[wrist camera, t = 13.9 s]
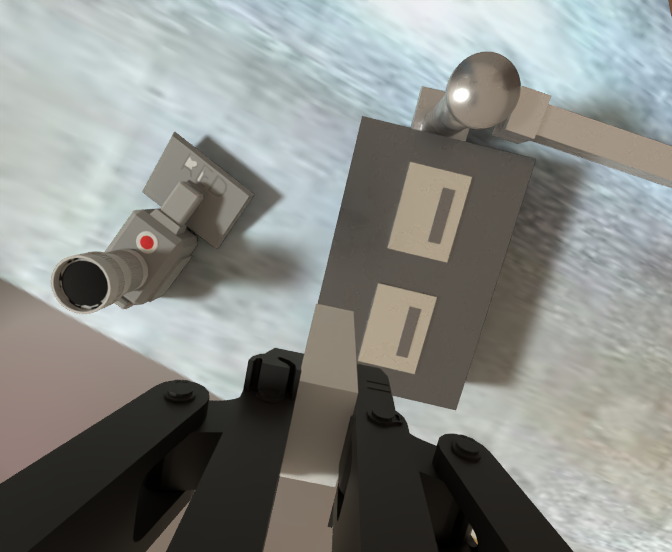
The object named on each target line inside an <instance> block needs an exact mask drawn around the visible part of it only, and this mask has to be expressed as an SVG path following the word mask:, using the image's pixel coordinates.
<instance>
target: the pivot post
mask: <svg viewBox="0 0 672 552" xmlns="http://www.w3.org/2000/svg"><path fill="white" fill-rule="evenodd" d="M520 91H521V83H520V78H519V74H518V72H517V70H516V68H515V66H514V65H513V64H512V62H511V61H509V60H508V59H507V58H506V57H504V56H502V55H500V54H498V53H494V52H480V53H476V54H474V55H471V56H469V57H468V58H466V59H465V60H463V61H462V62H461V63H460V64H459V65H458V67H457V68H456V69H455V70H454V71H453V73H452V74H451V76H450V78H449V80H448V83H447V87H446V92H443V91H439V90H435V89H431V88H427V87H423V86H422V88H421V90H420V94H419V98H418V102H417V106H416V110H415V114H414V117H413V121H412V125H411V128H413V129H417V130H421V131H425V132H429V133H433V134H437V135H441V136H445V137H449V138H453V139H457V140H461V141H465V142H466V139H467V135H468V132H469V128H470V129H475V130H481V129H487V128H490V127H493V126H495V125H497V124H499V123H501V122H502V121H504V120H505V119H506V118H507V117H508V116H509V115H510V114H511V113H512V112H513V110H514V109H515V107H516V105H517V103H518V100H519V97H520Z"/></svg>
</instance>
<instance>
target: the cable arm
mask: <svg viewBox="0 0 672 552" xmlns="http://www.w3.org/2000/svg"><path fill="white" fill-rule="evenodd" d="M550 98H551V96H550V95H547V94H545V93H542V92H539V91H536V90H533V89H530V88H527V87H524V86H521V91H520V97H519V100H518V103H517V105H516V107H515V109H514V110H513V112H512V113H511V114H510V115H509V116H508V117H507V118H506V119H505V120H504V121H502V122H501V123H499V124H497V125H495V127H494V130H493V133H492V135H493V136H496V137H499V138H502V139H505V140H508V141H511V142H514V143H517V144H519V143H522V142H526V141H529V140H531V141H534V142H536V143H539V144H542V145H545V146H548V147H551V148H554V149H557V150H560V151H563V152H566V153H569V154H572V155H575V156H578V157H581V158H584V159H587V160H590V161H593V162H596V163H599V164H602V165H605V166H607V167H610V168H613V169H616V170H619V171H622V172H625V173H628V174H631V175H634V176H637V177H640V178H643V179H646V180H649V181H652V182H655V183H658V184H661V185H664V186H667V187H670V188H672V146H669V145H666V144H664V143H661V142H658V141H655V140H652V139H649V138H646V137H643V136H640V135H637V134H634V133H631V132H628V131H625V130H623V129H620V128H617V127H614V126H611V125H608V124H605V123H602V122H599V121H596V120H593V119H590V118H587V117H584V116H582V115H579V114H576V113H573V112H570V111H567V110H564V109H561V108H558V107H555V106H552V105H549V104H548V103H549V100H550Z"/></svg>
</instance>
